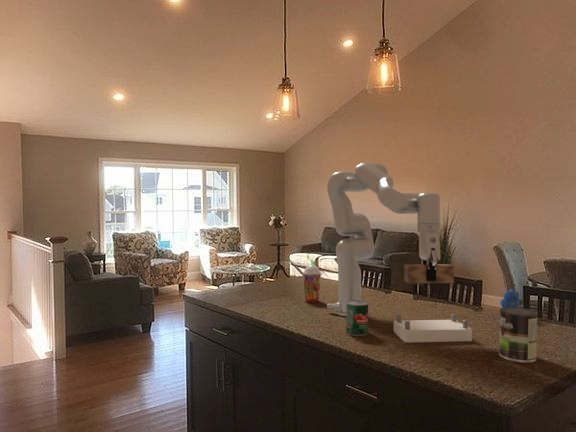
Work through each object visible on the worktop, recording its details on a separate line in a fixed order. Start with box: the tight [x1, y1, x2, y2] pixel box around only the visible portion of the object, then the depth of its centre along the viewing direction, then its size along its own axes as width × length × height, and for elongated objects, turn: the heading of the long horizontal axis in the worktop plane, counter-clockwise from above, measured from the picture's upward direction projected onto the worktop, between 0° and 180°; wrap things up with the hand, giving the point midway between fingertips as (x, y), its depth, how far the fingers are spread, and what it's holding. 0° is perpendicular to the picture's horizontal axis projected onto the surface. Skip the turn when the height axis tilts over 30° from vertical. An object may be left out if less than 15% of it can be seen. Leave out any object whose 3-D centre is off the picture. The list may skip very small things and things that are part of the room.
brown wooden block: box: [403, 263, 455, 284], centre depth 162 cm, size 16×5×6 cm, turn 91°
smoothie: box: [302, 258, 322, 303], centre depth 219 cm, size 8×8×20 cm
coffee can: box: [498, 306, 539, 364], centre depth 139 cm, size 10×10×14 cm
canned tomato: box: [345, 299, 369, 337], centre depth 165 cm, size 8×8×11 cm
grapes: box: [499, 288, 521, 310], centre depth 186 cm, size 12×7×12 cm, turn 121°
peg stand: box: [393, 313, 473, 343], centre depth 161 cm, size 23×13×6 cm, turn 94°
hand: (428, 279), depth 162 cm, fingers closed on brown wooden block, 5 cm apart
